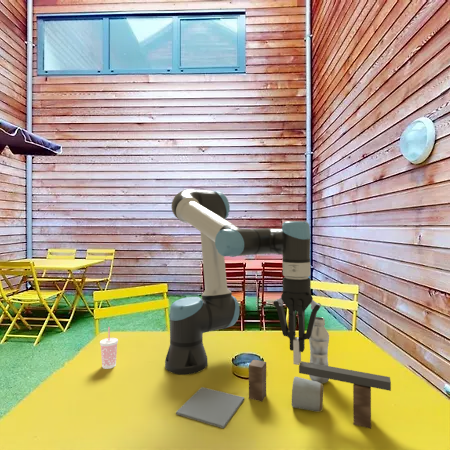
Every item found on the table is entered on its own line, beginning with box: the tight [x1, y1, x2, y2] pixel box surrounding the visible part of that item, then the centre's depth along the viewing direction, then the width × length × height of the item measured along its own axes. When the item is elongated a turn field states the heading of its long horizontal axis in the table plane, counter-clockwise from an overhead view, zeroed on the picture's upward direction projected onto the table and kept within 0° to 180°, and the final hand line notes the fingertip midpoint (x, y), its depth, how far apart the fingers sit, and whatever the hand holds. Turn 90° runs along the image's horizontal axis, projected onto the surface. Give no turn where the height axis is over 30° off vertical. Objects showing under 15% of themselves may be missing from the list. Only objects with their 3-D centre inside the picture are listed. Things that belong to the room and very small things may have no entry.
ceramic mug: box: [291, 376, 324, 413], centre depth 86 cm, size 11×8×8 cm
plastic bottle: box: [308, 316, 330, 384], centre depth 100 cm, size 6×7×20 cm
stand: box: [248, 359, 372, 429], centre depth 85 cm, size 32×4×10 cm, turn 65°
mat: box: [175, 386, 245, 429], centre depth 86 cm, size 14×14×1 cm
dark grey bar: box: [298, 360, 392, 392], centre depth 81 cm, size 22×3×2 cm, turn 65°
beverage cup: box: [99, 326, 119, 370], centre depth 111 cm, size 6×6×14 cm
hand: (297, 362), depth 85 cm, fingers closed
